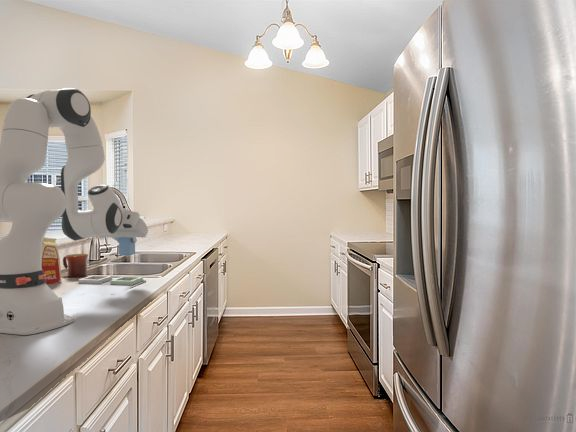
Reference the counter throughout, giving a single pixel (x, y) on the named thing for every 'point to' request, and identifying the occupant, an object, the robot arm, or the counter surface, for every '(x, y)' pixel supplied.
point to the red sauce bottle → (51, 261)
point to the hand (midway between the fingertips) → (127, 241)
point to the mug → (76, 265)
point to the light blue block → (126, 246)
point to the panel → (111, 281)
